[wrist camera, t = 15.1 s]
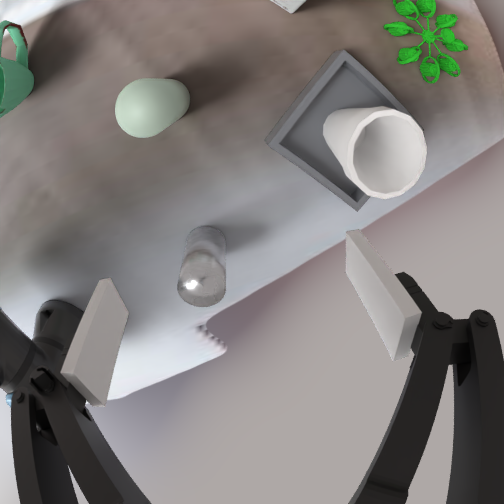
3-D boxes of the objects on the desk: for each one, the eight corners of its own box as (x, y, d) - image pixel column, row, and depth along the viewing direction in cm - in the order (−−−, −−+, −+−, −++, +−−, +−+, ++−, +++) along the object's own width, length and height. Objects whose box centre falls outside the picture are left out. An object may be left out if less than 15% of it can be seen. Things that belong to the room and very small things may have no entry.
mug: (41, 115, 32) (1, 130, 24) (-1, 113, 30) (-41, 128, 22) (60, 21, 25) (21, 14, 16) (14, 27, 23) (-27, 26, 14)
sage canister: (173, 130, 36) (152, 148, 27) (137, 108, 34) (105, 119, 25) (199, 93, 34) (186, 97, 25) (162, 71, 32) (135, 67, 22)
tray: (349, 202, 44) (357, 211, 41) (264, 140, 38) (267, 145, 35) (411, 125, 37) (424, 129, 34) (334, 51, 32) (343, 49, 29)
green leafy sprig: (374, -16, 25) (397, -28, 20) (453, 8, 26) (480, 6, 20) (380, 75, 34) (405, 77, 28) (456, 89, 34) (484, 96, 28)
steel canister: (212, 265, 48) (210, 313, 39) (180, 248, 46) (169, 294, 37) (233, 238, 46) (234, 283, 37) (198, 219, 44) (191, 261, 34)
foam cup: (351, 85, 33) (401, 92, 23) (386, 137, 38) (438, 165, 27) (297, 125, 36) (328, 146, 25) (336, 175, 41) (374, 215, 30)
